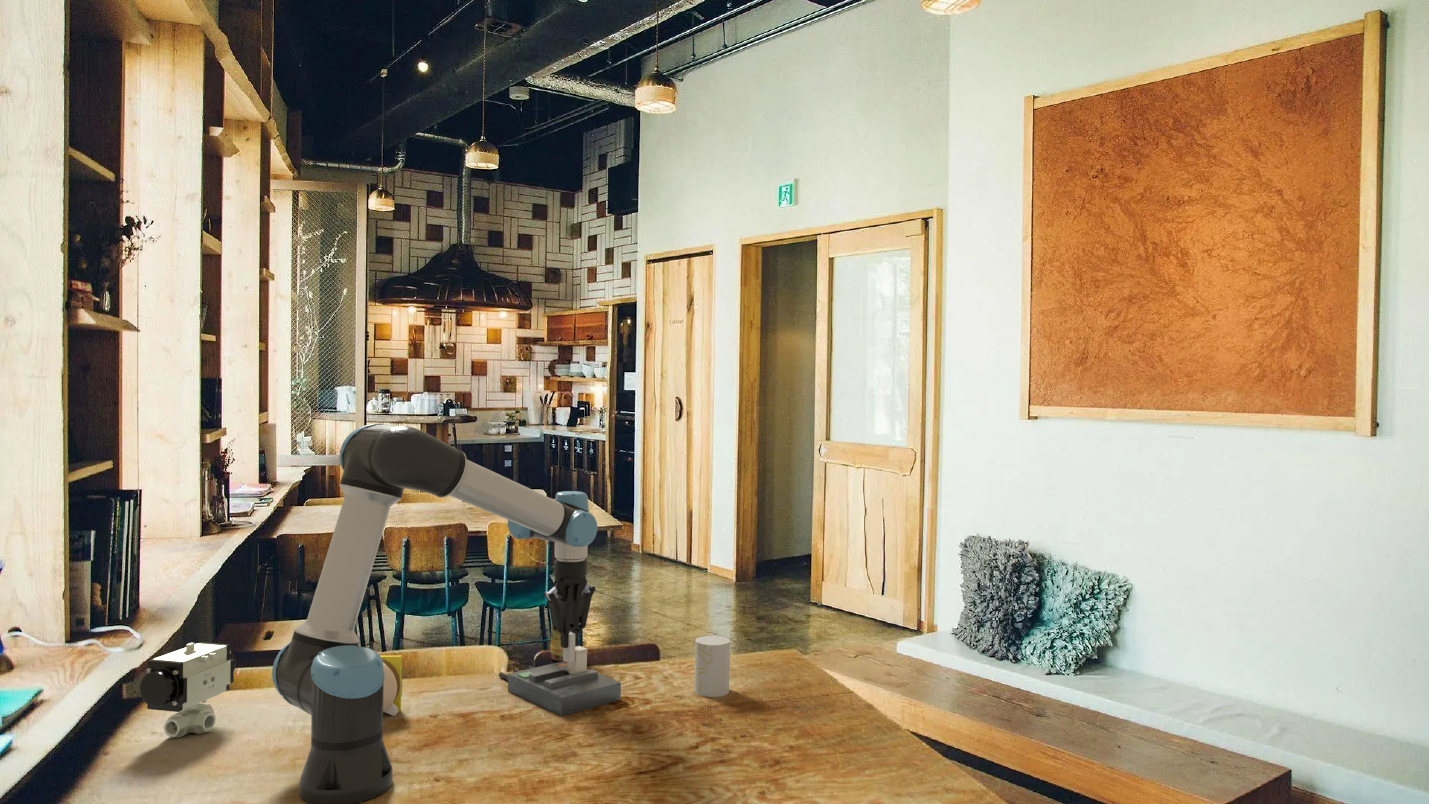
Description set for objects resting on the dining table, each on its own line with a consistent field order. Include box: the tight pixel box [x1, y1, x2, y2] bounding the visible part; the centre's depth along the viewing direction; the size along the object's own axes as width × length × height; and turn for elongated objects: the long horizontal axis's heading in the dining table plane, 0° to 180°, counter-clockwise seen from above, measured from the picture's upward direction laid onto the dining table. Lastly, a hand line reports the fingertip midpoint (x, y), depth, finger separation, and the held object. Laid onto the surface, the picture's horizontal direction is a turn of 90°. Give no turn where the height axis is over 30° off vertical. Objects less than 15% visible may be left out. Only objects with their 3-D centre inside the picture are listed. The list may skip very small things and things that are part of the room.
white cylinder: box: [694, 635, 731, 698], centre depth 215 cm, size 8×8×12 cm
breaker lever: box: [569, 645, 589, 674], centre depth 212 cm, size 3×3×6 cm
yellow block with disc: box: [380, 655, 403, 717], centre depth 196 cm, size 12×8×12 cm
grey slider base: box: [498, 661, 622, 717], centre depth 213 cm, size 32×16×5 cm, turn 43°
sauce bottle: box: [549, 594, 564, 662], centre depth 238 cm, size 7×6×20 cm
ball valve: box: [139, 641, 237, 738], centre depth 184 cm, size 18×8×18 cm, turn 168°
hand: (568, 660), depth 211 cm, fingers closed
